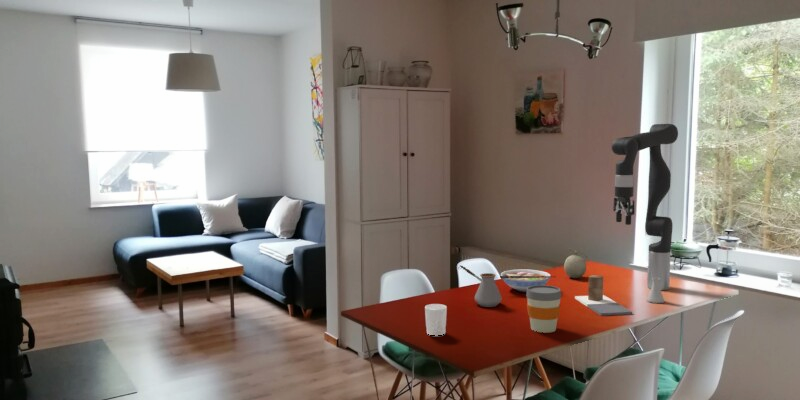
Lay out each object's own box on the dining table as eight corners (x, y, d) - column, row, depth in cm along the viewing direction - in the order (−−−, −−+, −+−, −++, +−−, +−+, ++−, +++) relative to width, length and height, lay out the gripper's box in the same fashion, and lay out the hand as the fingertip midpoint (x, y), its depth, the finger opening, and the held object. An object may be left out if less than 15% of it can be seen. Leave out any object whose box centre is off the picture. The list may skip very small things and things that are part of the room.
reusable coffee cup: (537, 321, 232) (537, 283, 230) (567, 328, 223) (567, 288, 222) (519, 329, 223) (519, 289, 221) (549, 336, 214) (550, 295, 213)
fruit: (590, 280, 296) (591, 250, 295) (567, 280, 297) (567, 250, 295) (584, 275, 307) (584, 246, 305) (561, 275, 307) (562, 246, 305)
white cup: (424, 330, 224) (423, 304, 223) (445, 329, 224) (444, 303, 223) (426, 337, 216) (426, 310, 215) (448, 336, 216) (448, 309, 215)
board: (574, 298, 263) (574, 296, 263) (603, 297, 265) (603, 294, 265) (600, 315, 238) (600, 313, 238) (632, 314, 239) (632, 311, 239)
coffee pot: (507, 304, 257) (507, 269, 255) (490, 310, 249) (490, 274, 247) (468, 295, 272) (467, 262, 270) (451, 300, 264) (451, 267, 262)
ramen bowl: (547, 283, 291) (547, 267, 290) (558, 296, 268) (558, 278, 267) (495, 284, 291) (495, 267, 291) (501, 296, 269) (501, 278, 268)
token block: (588, 299, 258) (588, 276, 257) (593, 297, 261) (593, 274, 260) (598, 301, 255) (598, 278, 254) (602, 299, 258) (603, 276, 257)
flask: (666, 304, 253) (667, 280, 252) (648, 303, 254) (648, 280, 253) (662, 299, 260) (663, 276, 259) (644, 298, 261) (645, 276, 260)
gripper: (640, 186, 250) (640, 225, 251) (624, 184, 264) (623, 220, 266) (623, 187, 249) (622, 225, 251) (608, 184, 263) (607, 221, 265)
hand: (623, 223), depth 258 cm, fingers open, 8 cm apart
